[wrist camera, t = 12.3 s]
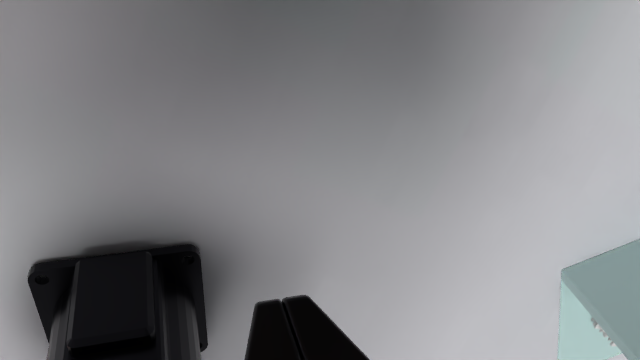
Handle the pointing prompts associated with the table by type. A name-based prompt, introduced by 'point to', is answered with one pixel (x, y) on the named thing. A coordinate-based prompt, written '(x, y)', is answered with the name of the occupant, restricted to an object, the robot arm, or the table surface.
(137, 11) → the table surface
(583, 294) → the right angle wall
